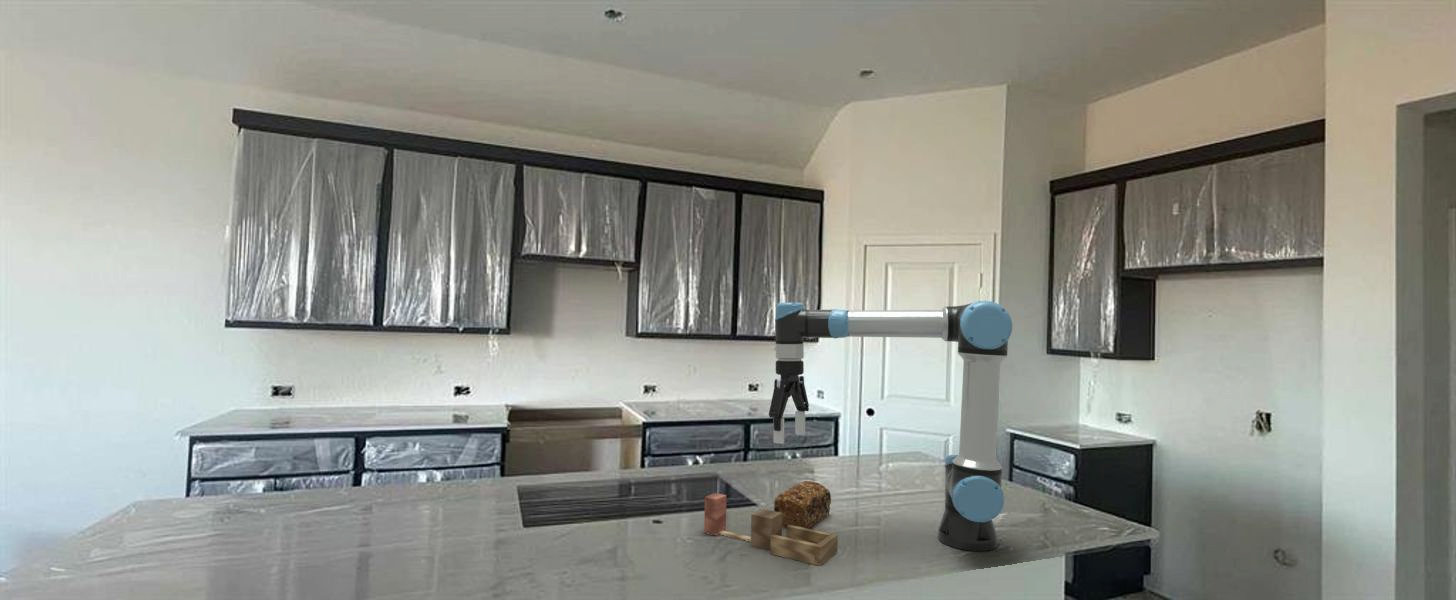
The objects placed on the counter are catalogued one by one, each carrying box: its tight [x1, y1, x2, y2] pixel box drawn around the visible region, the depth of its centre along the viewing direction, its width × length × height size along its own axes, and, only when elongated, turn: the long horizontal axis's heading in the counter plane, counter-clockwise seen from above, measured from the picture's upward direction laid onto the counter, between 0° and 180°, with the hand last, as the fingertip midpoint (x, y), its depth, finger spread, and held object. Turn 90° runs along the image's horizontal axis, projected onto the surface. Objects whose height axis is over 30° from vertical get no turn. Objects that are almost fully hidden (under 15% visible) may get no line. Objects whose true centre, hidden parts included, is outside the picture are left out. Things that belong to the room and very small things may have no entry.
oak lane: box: [769, 525, 839, 566], centre depth 161 cm, size 14×11×4 cm
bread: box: [773, 480, 832, 529], centre depth 188 cm, size 19×11×10 cm, turn 147°
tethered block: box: [703, 492, 783, 551], centre depth 171 cm, size 21×6×10 cm, turn 59°
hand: (789, 439), depth 171 cm, fingers open, 13 cm apart
